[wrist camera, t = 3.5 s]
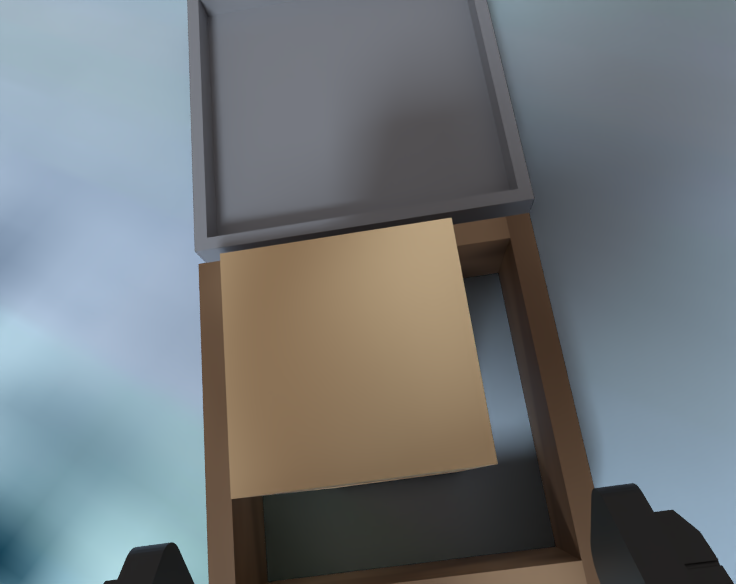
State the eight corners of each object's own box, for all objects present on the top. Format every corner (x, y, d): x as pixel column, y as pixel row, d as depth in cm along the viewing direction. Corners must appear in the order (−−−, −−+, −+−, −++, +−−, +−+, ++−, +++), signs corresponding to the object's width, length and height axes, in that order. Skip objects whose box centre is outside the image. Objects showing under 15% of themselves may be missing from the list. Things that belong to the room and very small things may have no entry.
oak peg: (439, 352, 22) (451, 217, 11) (459, 471, 21) (497, 464, 9) (326, 368, 22) (219, 253, 11) (338, 487, 21) (230, 498, 9)
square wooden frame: (514, 251, 23) (529, 212, 20) (585, 569, 19) (617, 588, 16) (231, 294, 24) (198, 263, 20) (246, 609, 20) (210, 636, 17)
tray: (468, -25, 27) (471, -63, 25) (525, 221, 23) (534, 198, 21) (203, 22, 28) (186, -11, 26) (213, 269, 24) (194, 251, 22)
